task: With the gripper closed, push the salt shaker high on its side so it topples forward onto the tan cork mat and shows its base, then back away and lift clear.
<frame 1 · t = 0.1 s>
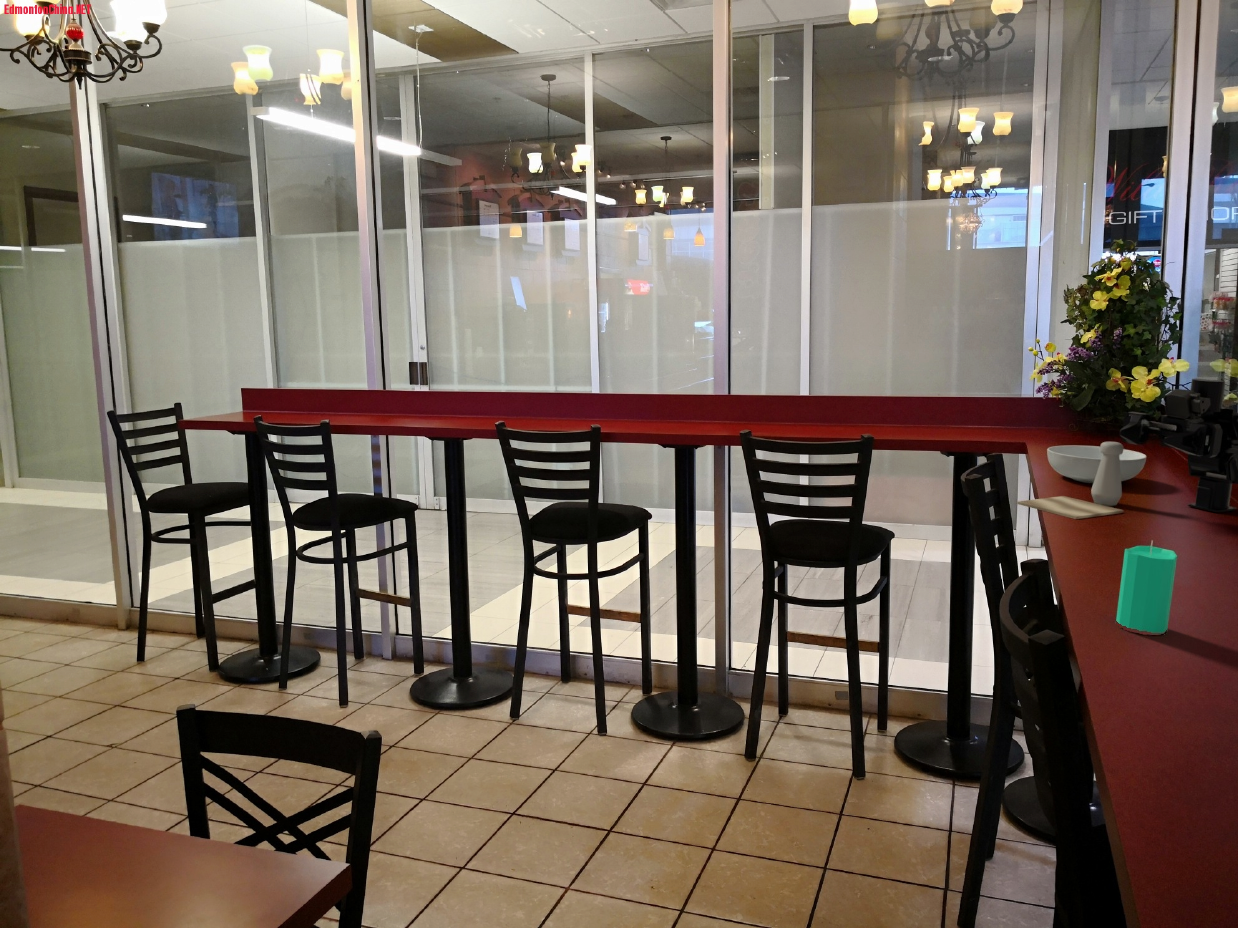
hand: (1142, 436, 184), 17 cm above the bar counter, tool horizontal, fingers open, 9 cm apart
serving bowl: (1092, 481, 226), on the bar counter
salt shaker: (1104, 504, 202), on the bar counter
candle: (1140, 629, 128), on the bar counter
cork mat: (1069, 508, 197), on the bar counter
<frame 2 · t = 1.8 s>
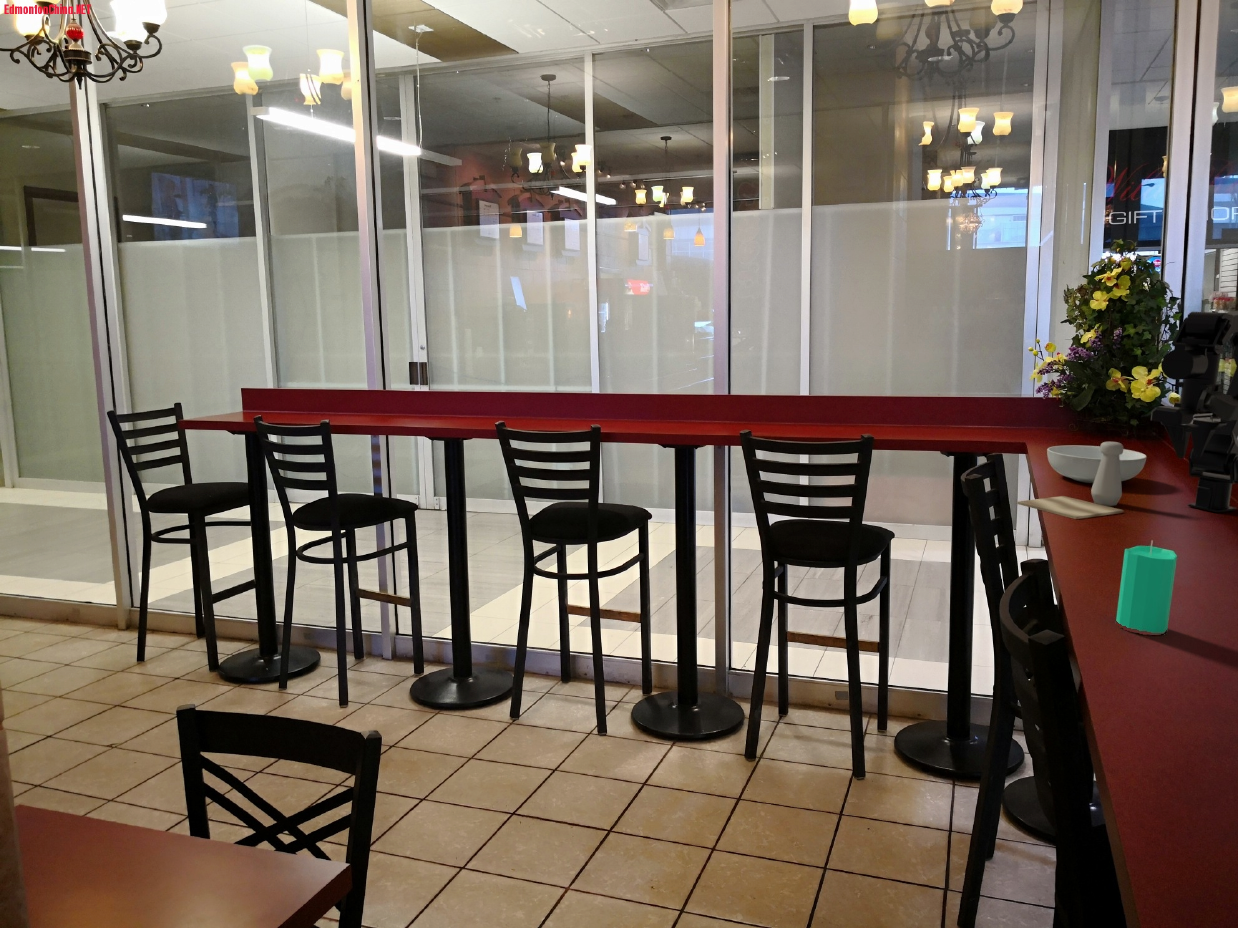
hand: (1189, 457, 189), 12 cm above the bar counter, tool pointing down, fingers open, 5 cm apart
nothing on the bar counter moved.
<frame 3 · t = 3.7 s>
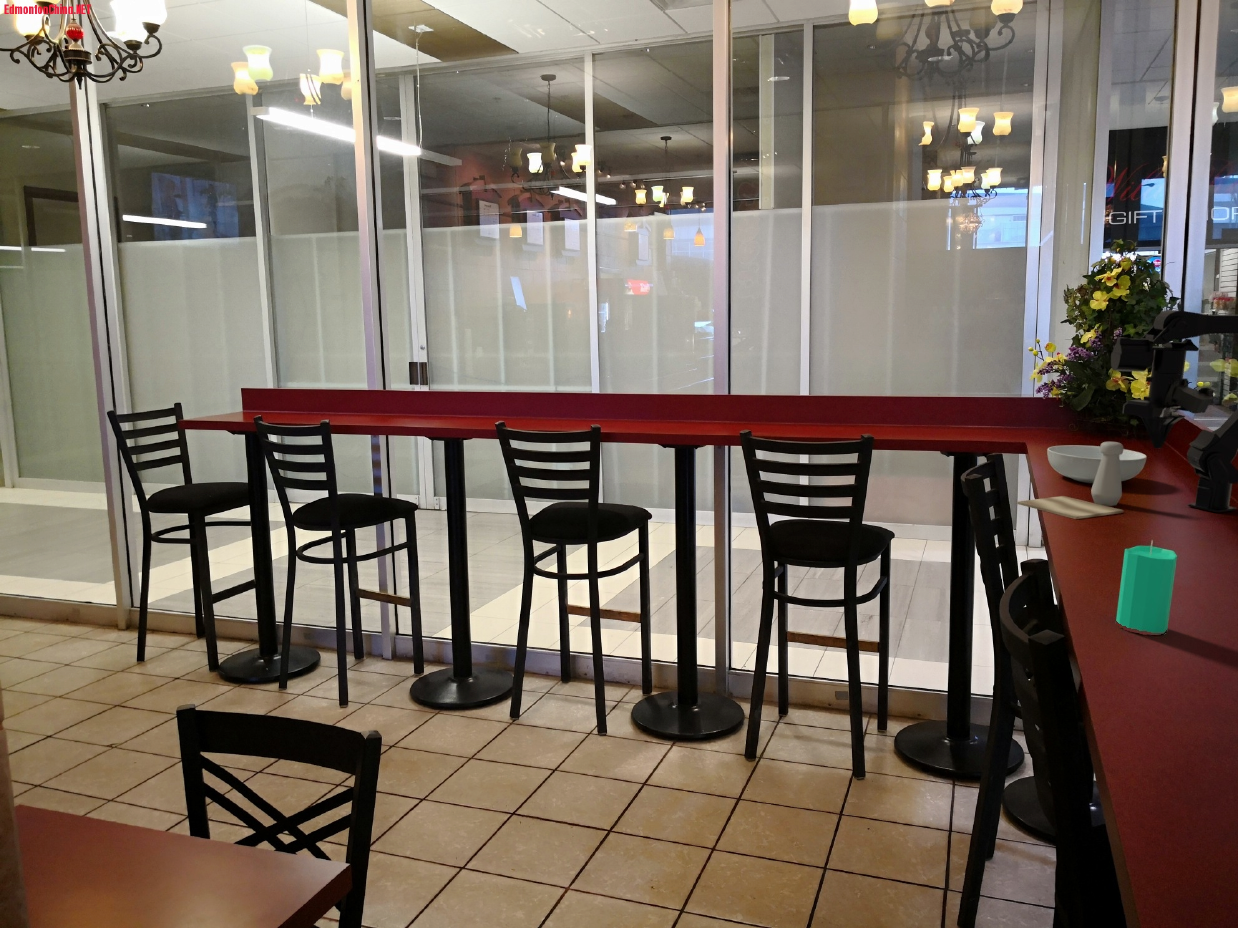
hand: (1157, 448, 199), 12 cm above the bar counter, tool pointing down, fingers closed
nothing on the bar counter moved.
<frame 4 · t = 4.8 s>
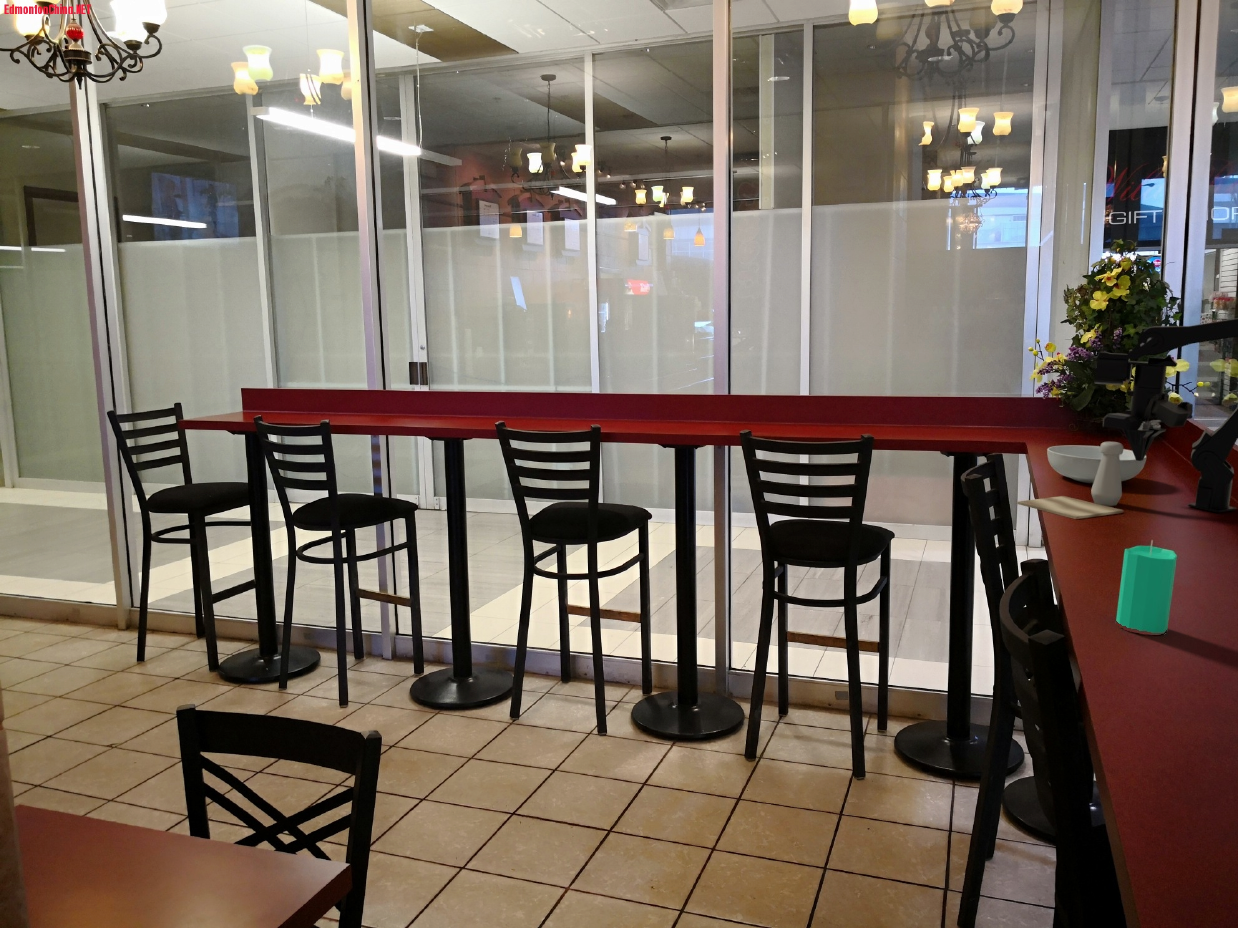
hand: (1139, 460, 204), 9 cm above the bar counter, tool pointing down, fingers closed
nothing on the bar counter moved.
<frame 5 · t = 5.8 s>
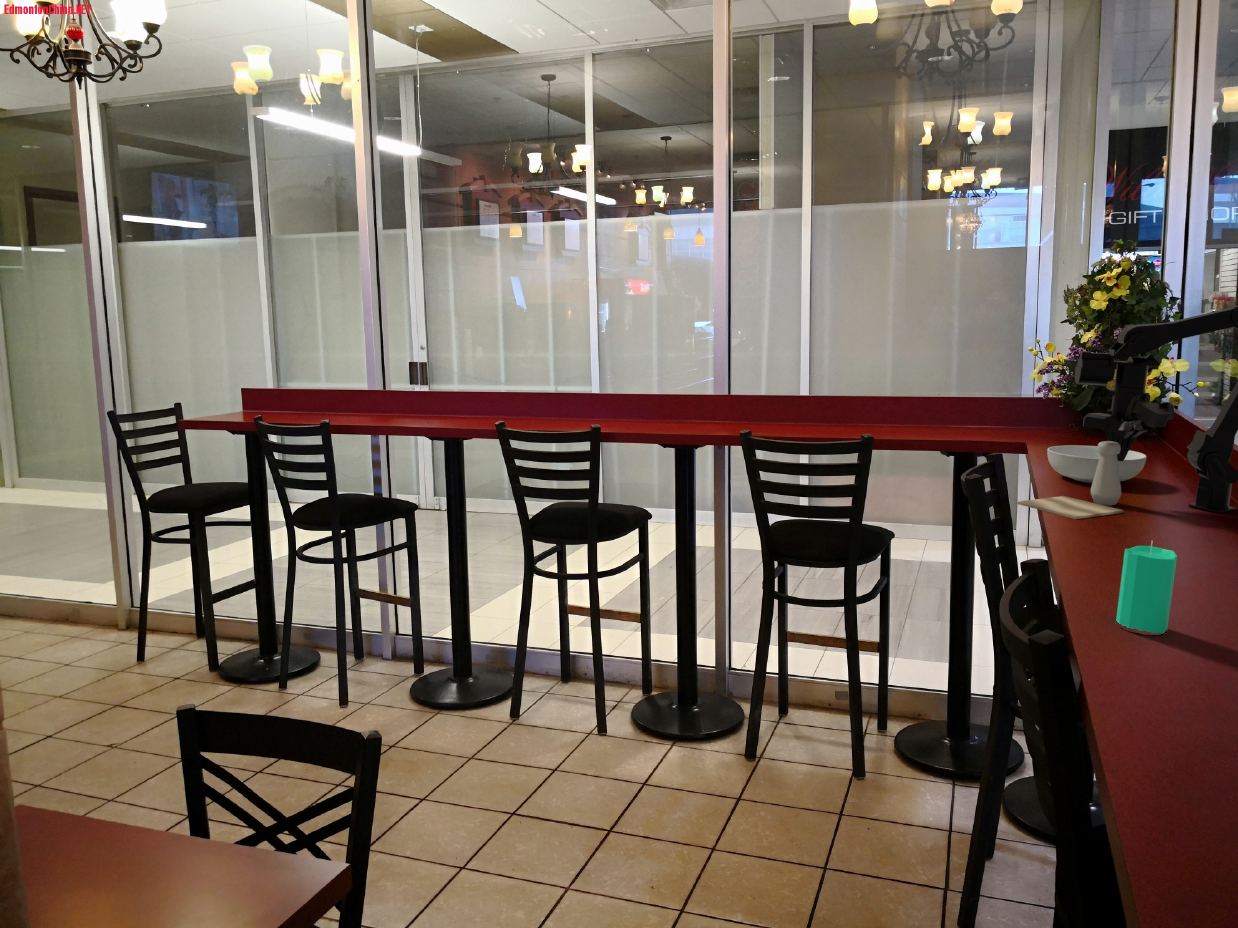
hand: (1120, 461, 202), 9 cm above the bar counter, tool pointing down, fingers closed
salt shaker: (1105, 503, 202), on the bar counter, touching gripper
everything else where it was.
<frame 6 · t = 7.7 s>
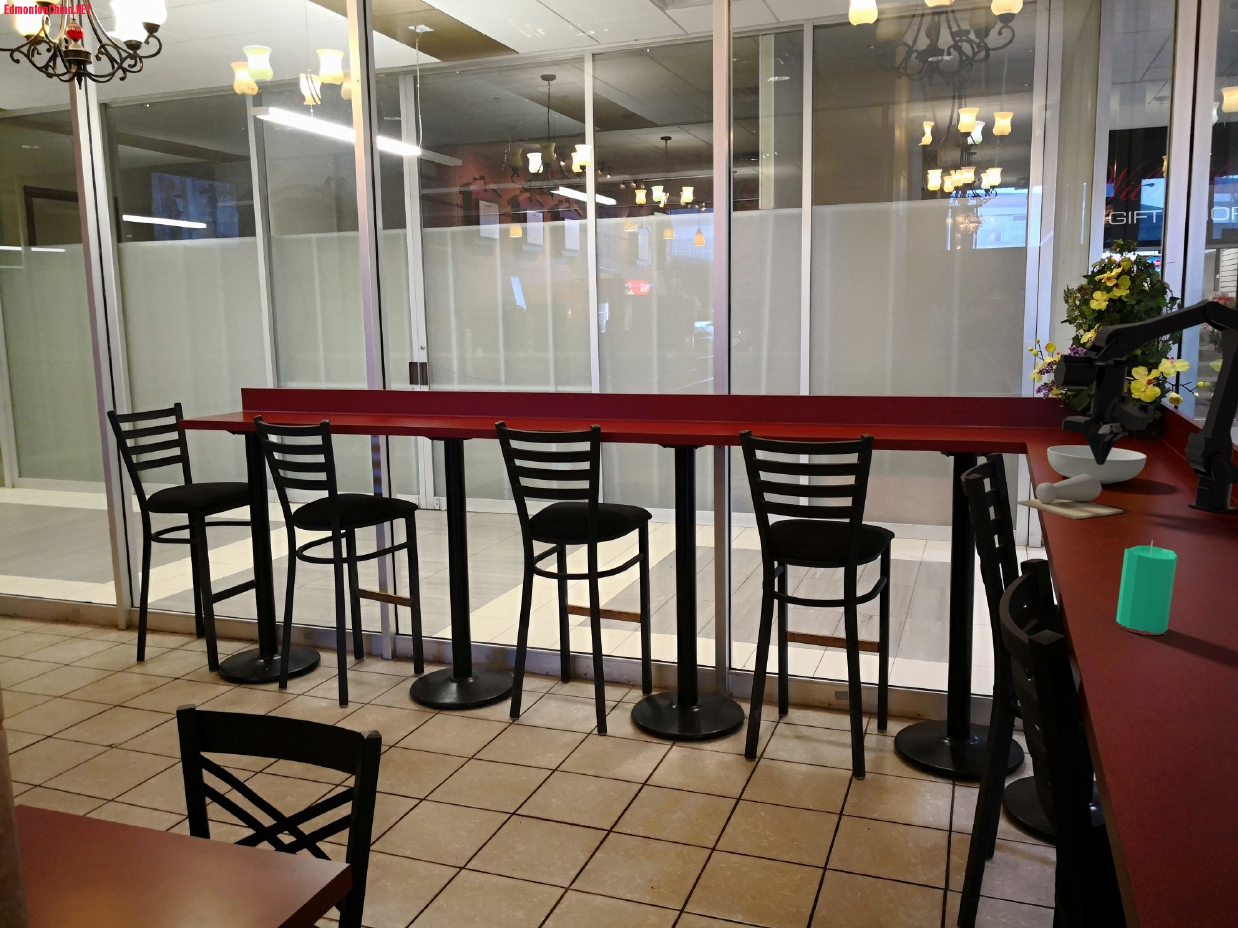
hand: (1100, 464, 199), 8 cm above the bar counter, tool pointing down, fingers closed
salt shaker: (1095, 486, 201), point 4 cm above the bar counter, touching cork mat
everything else where it was.
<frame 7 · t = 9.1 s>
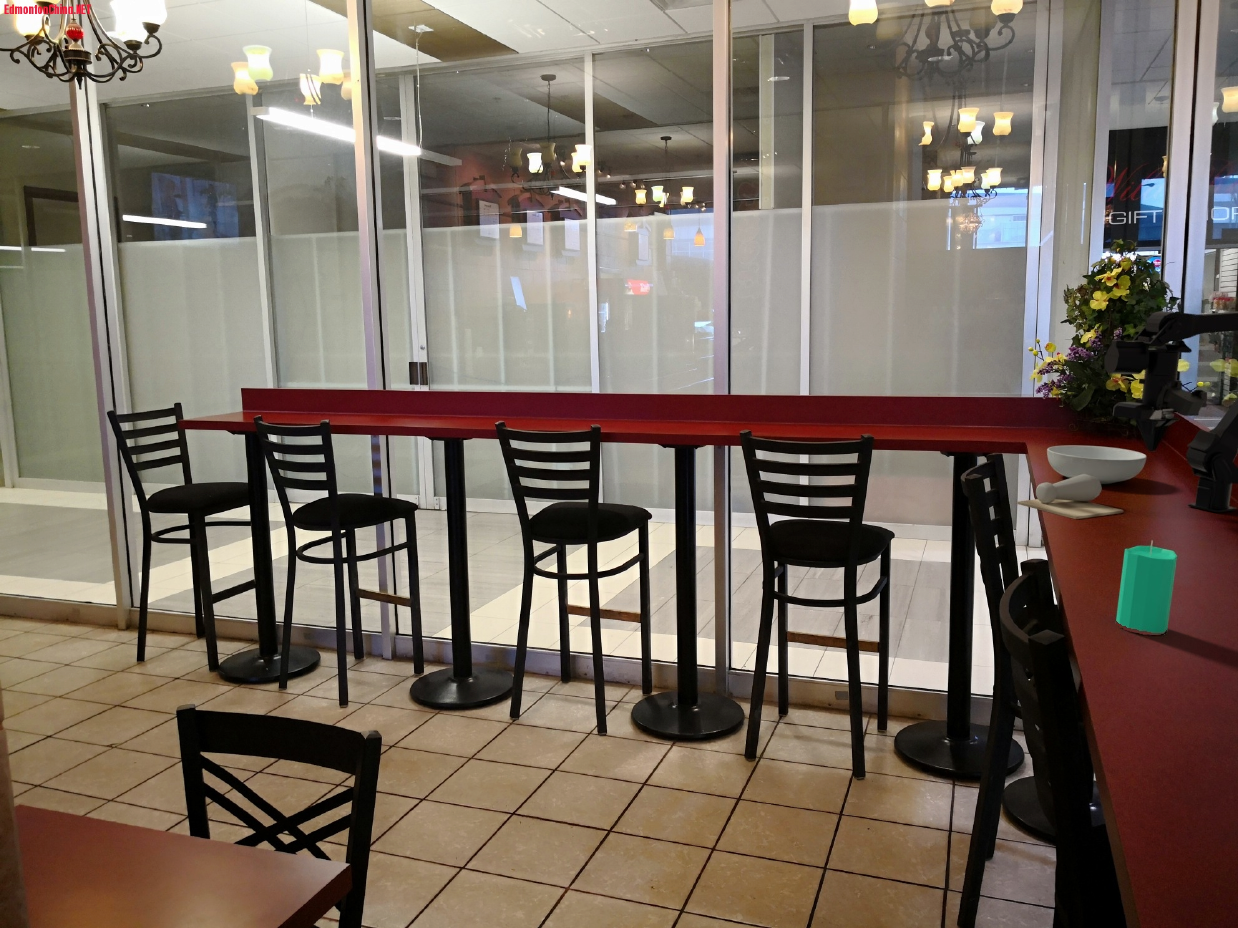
hand: (1151, 451, 197), 12 cm above the bar counter, tool pointing down, fingers closed
nothing on the bar counter moved.
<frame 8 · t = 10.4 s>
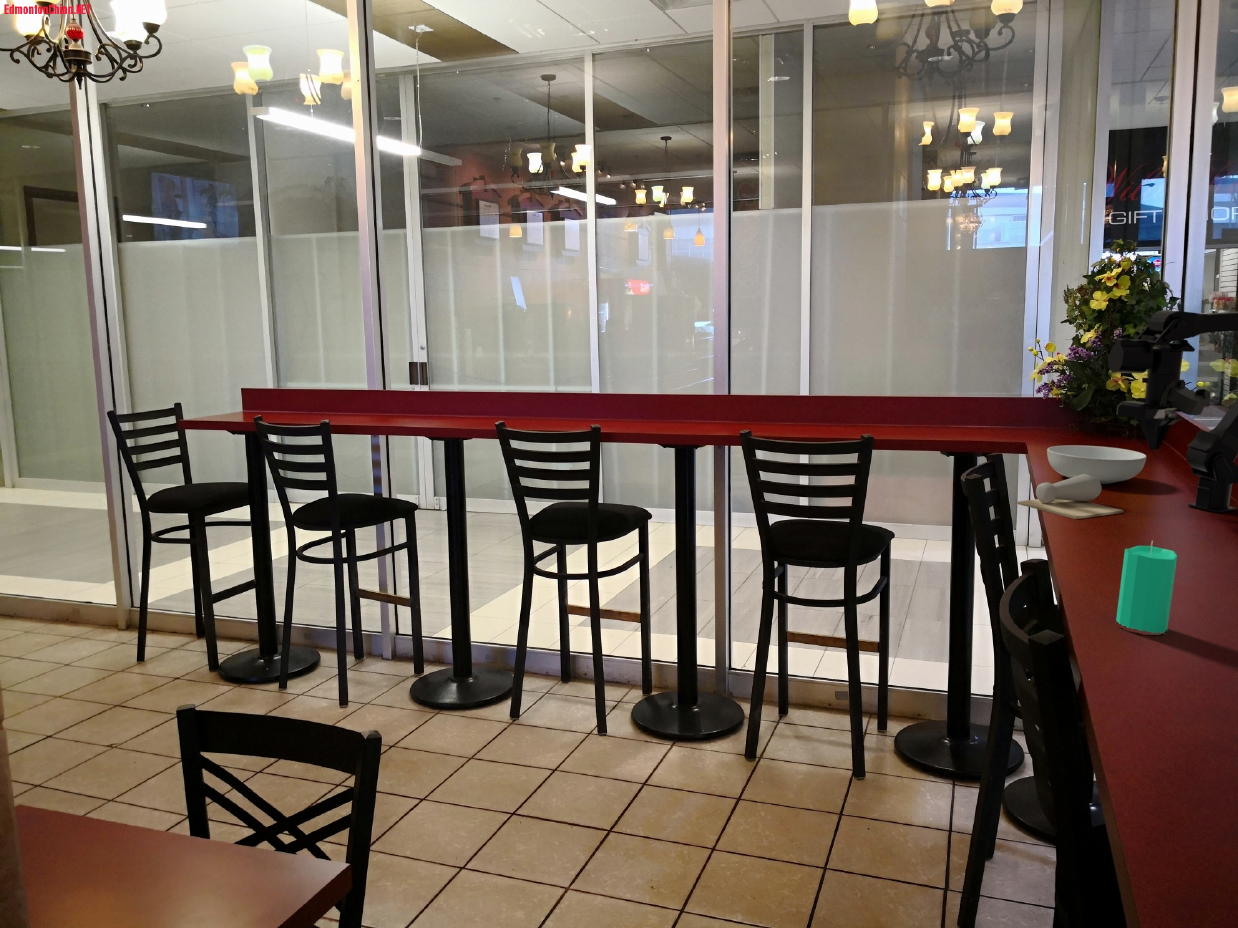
hand: (1154, 450, 196), 12 cm above the bar counter, tool pointing down, fingers closed
nothing on the bar counter moved.
at the end: salt shaker tilted 95°; salt shaker touching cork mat; the gripper is holding nothing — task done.
